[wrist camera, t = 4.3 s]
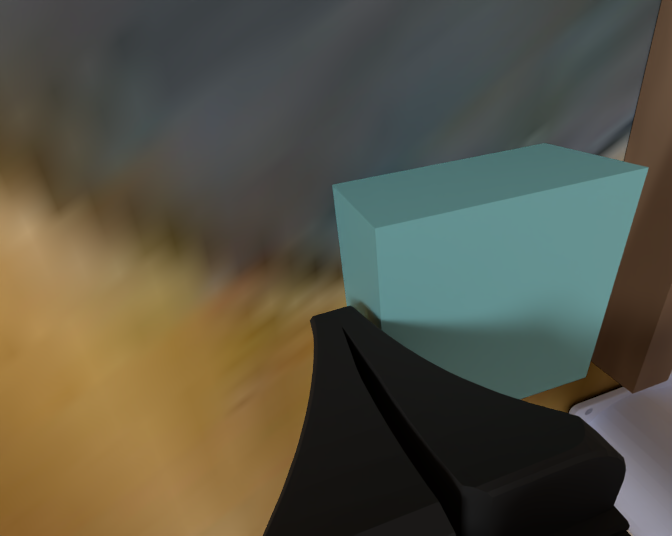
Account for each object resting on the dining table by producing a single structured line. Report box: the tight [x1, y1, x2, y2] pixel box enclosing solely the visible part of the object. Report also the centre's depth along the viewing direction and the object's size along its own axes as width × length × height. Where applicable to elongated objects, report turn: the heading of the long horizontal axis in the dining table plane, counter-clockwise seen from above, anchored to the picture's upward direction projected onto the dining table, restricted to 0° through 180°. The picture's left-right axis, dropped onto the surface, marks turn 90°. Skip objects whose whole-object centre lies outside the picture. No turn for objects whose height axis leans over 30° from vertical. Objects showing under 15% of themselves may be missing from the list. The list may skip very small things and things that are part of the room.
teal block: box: [332, 143, 649, 399], centre depth 13 cm, size 8×8×4 cm
